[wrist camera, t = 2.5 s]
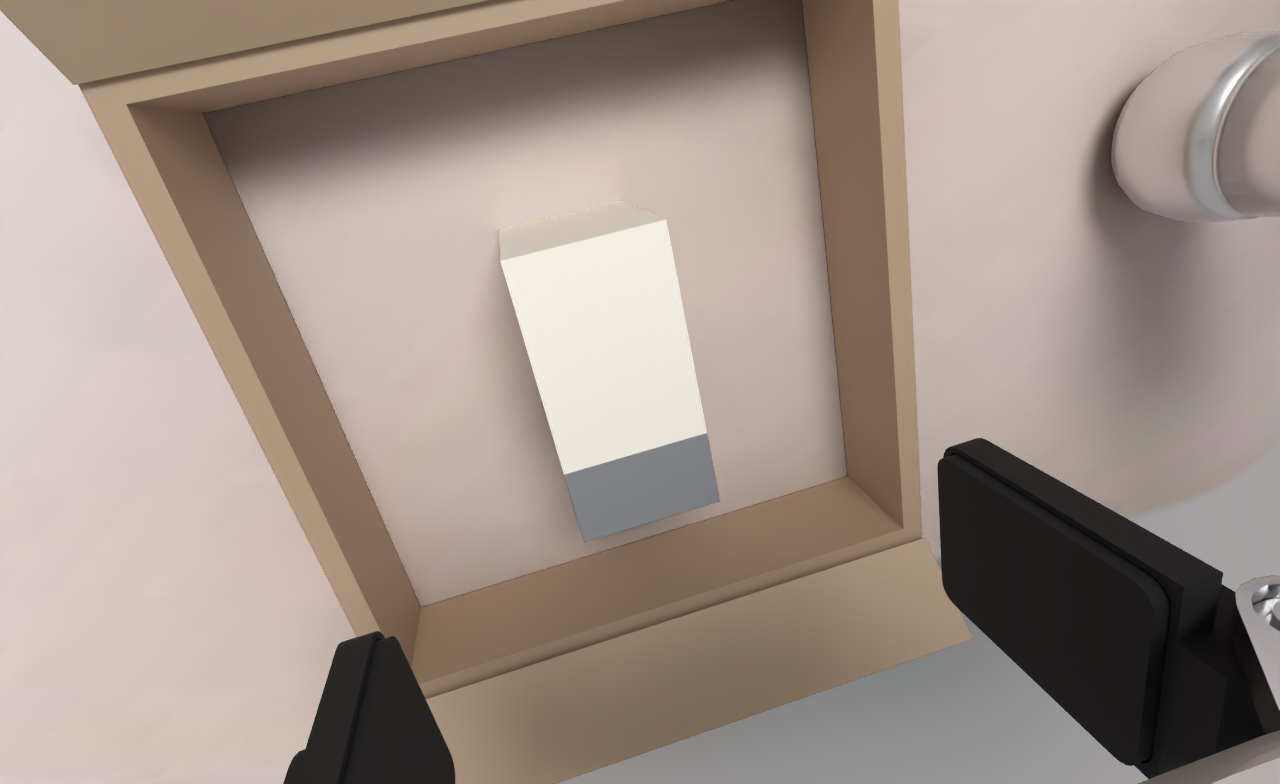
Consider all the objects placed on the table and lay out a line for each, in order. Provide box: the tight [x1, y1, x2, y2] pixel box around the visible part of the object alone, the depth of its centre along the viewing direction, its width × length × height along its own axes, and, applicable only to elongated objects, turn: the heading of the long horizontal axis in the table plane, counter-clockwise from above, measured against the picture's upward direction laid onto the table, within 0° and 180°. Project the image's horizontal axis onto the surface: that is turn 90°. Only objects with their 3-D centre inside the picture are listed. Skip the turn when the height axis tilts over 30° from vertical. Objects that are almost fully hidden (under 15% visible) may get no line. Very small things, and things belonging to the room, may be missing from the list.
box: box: [499, 200, 720, 543], centre depth 22 cm, size 4×9×7 cm, turn 12°
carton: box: [0, 0, 973, 784], centre depth 21 cm, size 22×28×8 cm
